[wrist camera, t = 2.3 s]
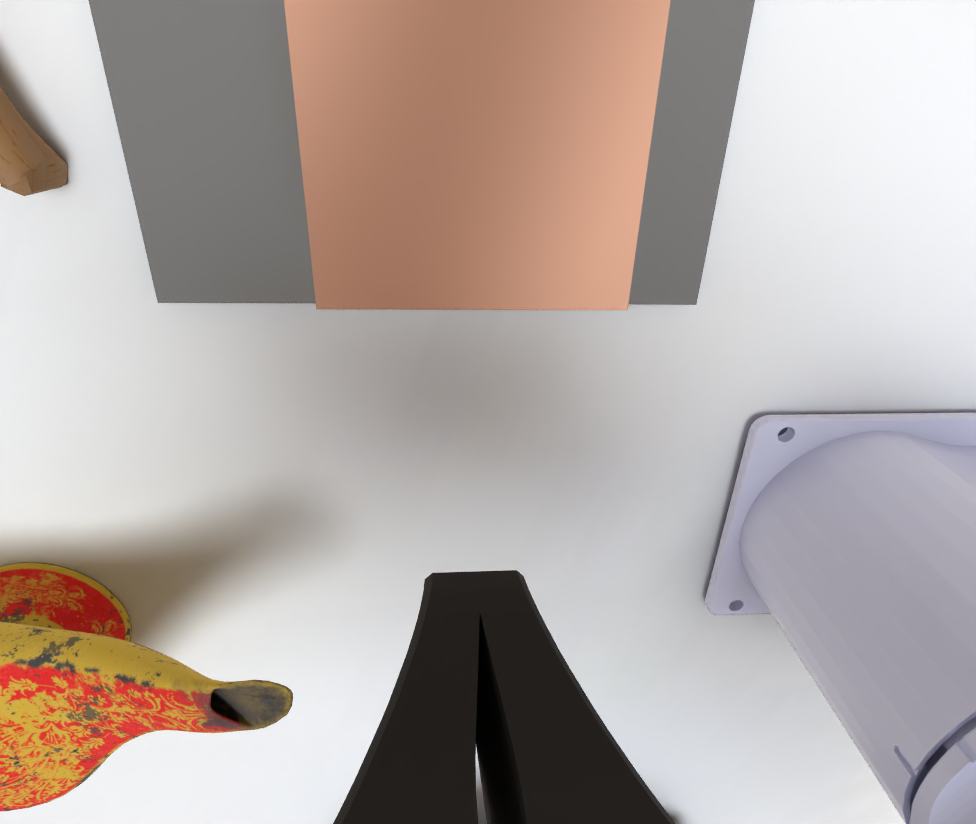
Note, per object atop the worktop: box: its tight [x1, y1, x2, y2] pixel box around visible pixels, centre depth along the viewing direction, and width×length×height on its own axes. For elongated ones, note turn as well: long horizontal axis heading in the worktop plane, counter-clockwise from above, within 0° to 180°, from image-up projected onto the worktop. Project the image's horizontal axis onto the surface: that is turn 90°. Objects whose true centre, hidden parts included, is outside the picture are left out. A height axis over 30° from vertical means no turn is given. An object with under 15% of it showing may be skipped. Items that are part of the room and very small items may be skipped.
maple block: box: [284, 0, 671, 310], centre depth 11 cm, size 4×4×8 cm
